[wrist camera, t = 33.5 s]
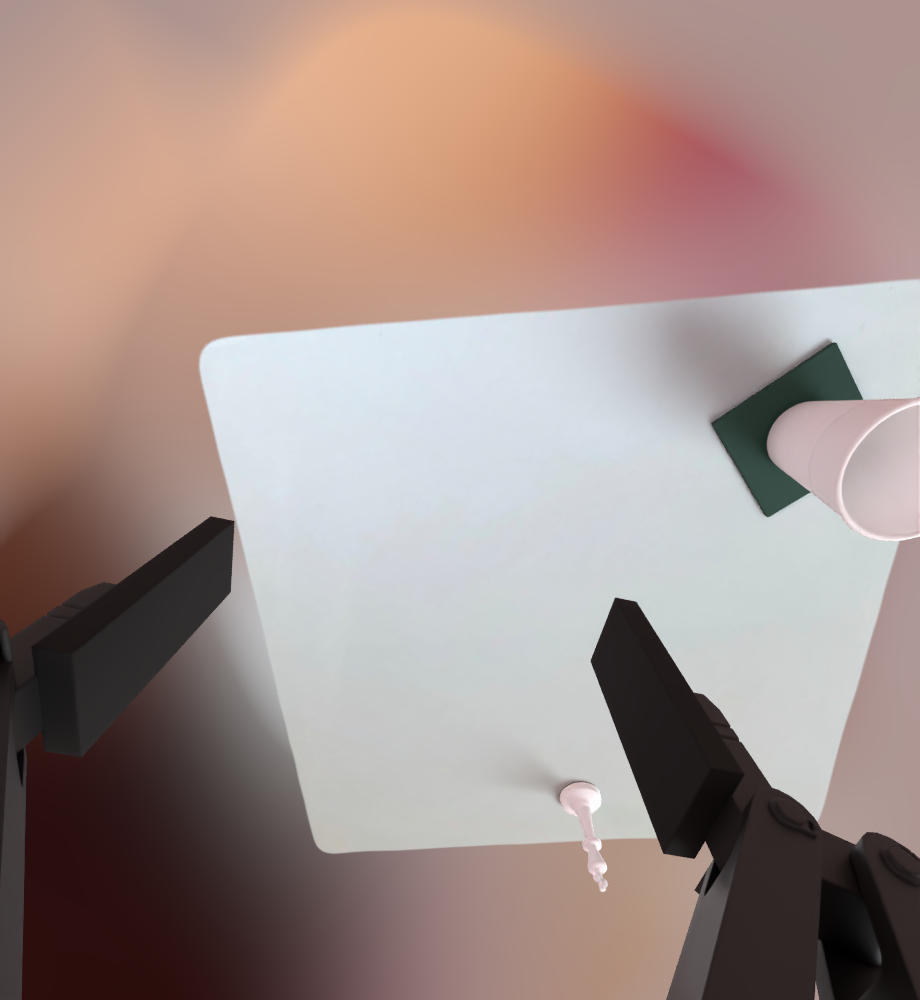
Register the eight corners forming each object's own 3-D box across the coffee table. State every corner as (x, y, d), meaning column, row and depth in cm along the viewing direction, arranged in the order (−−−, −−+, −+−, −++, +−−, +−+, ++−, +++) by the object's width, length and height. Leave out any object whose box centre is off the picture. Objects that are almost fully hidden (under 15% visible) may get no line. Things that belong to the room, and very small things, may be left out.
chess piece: (579, 816, 57) (601, 911, 48) (551, 797, 56) (568, 890, 47) (608, 795, 56) (637, 889, 47) (581, 775, 55) (604, 867, 45)
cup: (732, 404, 39) (827, 430, 29) (853, 358, 38) (999, 369, 28) (752, 505, 42) (845, 561, 32) (865, 466, 41) (1000, 512, 31)
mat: (710, 423, 40) (713, 424, 40) (832, 342, 38) (836, 342, 37) (765, 516, 43) (768, 517, 43) (881, 446, 41) (885, 447, 40)
